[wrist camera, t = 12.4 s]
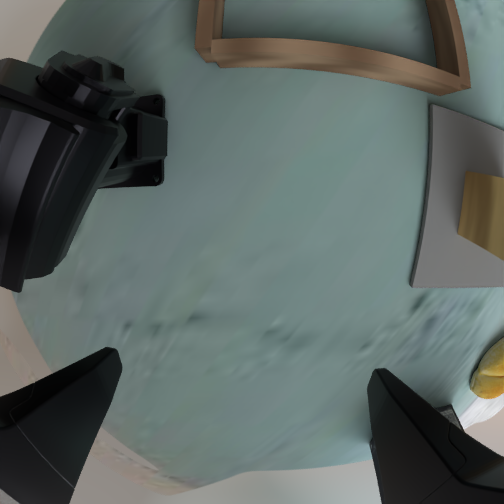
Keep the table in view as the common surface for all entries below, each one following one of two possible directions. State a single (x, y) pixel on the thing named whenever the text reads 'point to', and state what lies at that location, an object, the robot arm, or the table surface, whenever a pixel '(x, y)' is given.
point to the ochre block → (483, 212)
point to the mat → (456, 203)
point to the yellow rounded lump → (490, 373)
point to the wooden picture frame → (343, 52)
